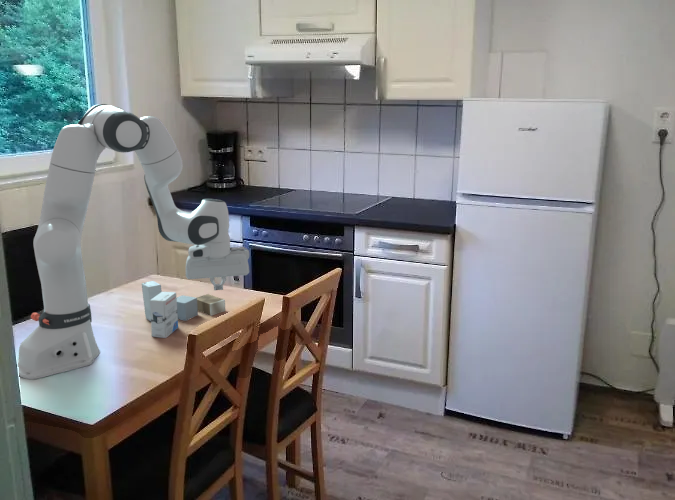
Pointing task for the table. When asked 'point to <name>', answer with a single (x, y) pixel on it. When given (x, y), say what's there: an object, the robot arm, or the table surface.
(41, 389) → the table surface
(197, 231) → the robot arm
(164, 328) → the ink box
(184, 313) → the slate block
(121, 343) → the table surface
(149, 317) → the skincare box
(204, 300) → the walnut block
